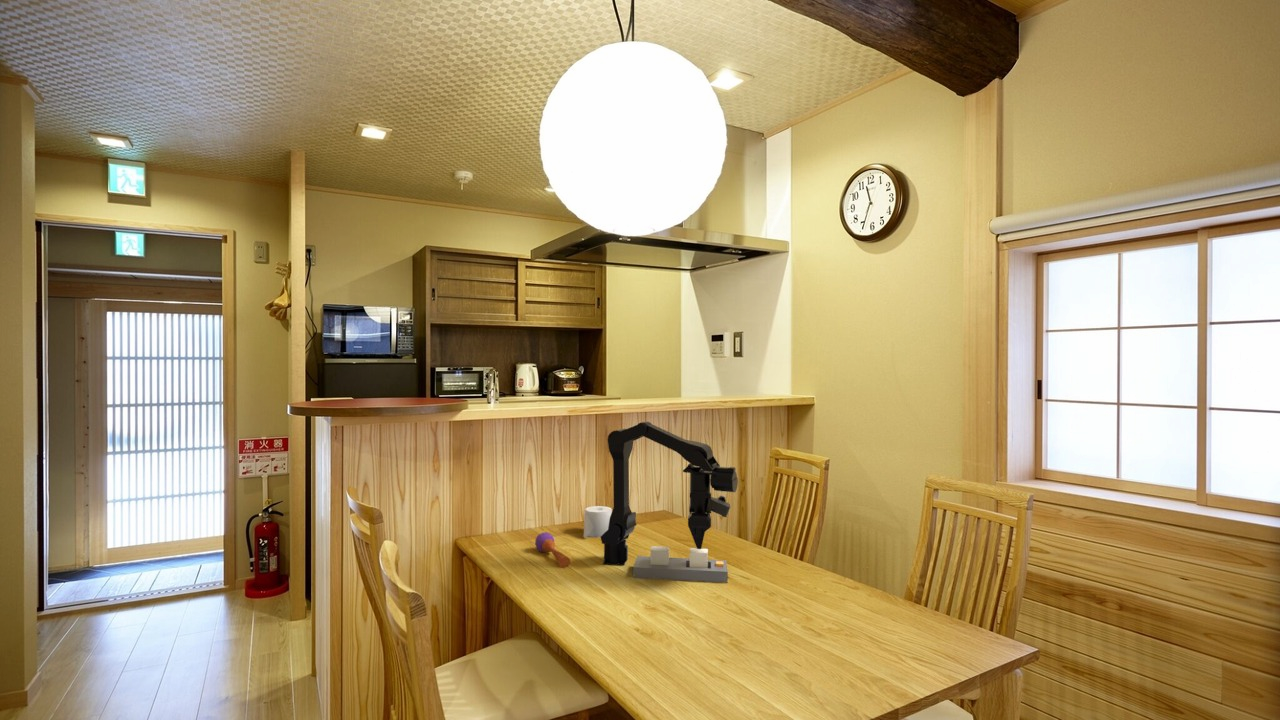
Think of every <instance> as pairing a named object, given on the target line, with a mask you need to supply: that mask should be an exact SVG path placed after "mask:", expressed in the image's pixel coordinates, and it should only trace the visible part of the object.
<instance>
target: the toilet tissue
mask: <svg viewBox="0 0 1280 720" xmlns="http://www.w3.org/2000/svg"><path fill="white" fill-rule="evenodd" d="M612 511H613V508H611V507H609V506H604V505H602V506H601V505H594V506H593V505H592V506H589V507H587V506H586V508H584V518H583V519H584V522H583V538H584V540H586V539H587V538H588V537H589V538H601V536H602V535H603V534H604V533H605V532H606V531H607V530H608V526H609V520H610V516H611V513H612Z"/></svg>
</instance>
